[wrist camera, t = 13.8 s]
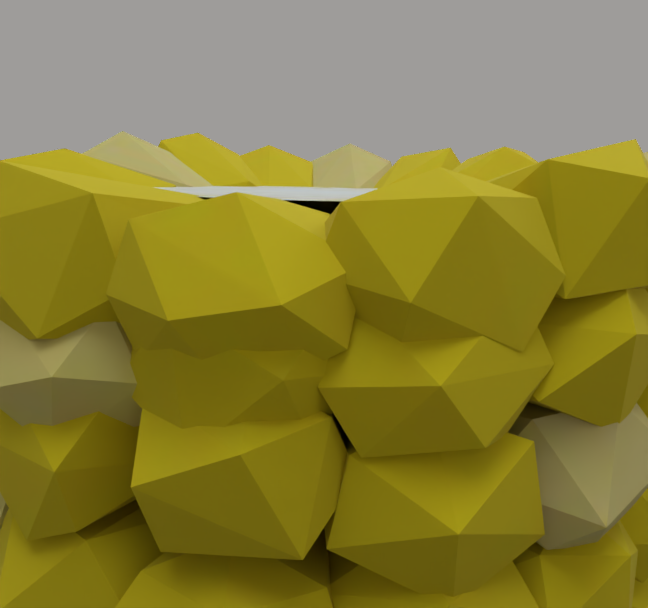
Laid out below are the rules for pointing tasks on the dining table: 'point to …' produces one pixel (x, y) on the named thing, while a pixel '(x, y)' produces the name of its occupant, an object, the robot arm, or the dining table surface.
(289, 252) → the food
